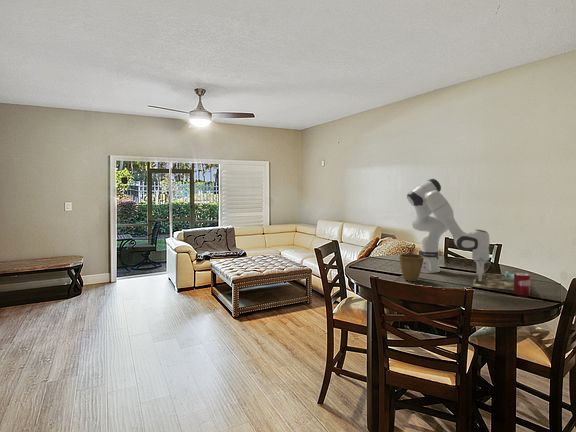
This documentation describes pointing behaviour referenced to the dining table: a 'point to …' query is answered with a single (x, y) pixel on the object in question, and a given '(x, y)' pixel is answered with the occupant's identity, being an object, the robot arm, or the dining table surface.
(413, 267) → the plant pot
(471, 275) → the dining table surface
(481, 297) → the dining table surface
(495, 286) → the board
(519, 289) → the soda can
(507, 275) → the lid
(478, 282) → the block
